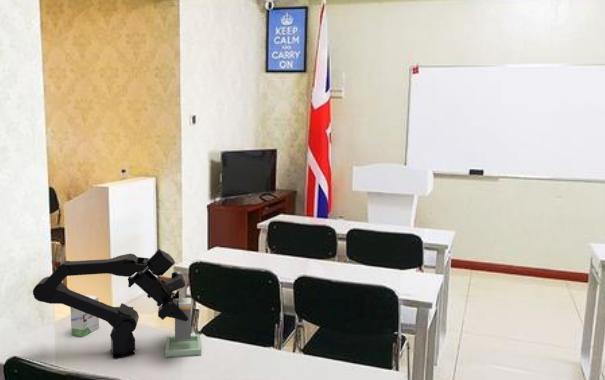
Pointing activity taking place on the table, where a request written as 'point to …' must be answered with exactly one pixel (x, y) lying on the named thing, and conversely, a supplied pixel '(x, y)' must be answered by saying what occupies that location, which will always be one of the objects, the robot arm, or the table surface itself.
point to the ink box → (83, 321)
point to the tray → (183, 347)
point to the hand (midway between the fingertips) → (187, 316)
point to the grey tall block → (183, 326)
